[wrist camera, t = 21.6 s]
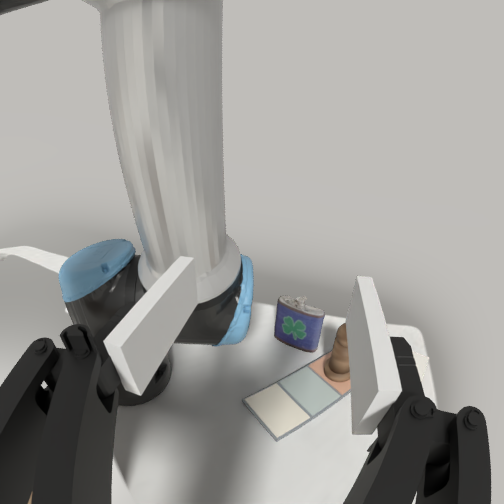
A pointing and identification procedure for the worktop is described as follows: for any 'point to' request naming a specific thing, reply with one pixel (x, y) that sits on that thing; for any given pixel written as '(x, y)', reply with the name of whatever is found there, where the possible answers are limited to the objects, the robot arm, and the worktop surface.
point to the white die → (420, 363)
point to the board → (296, 399)
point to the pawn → (339, 358)
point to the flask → (298, 323)
